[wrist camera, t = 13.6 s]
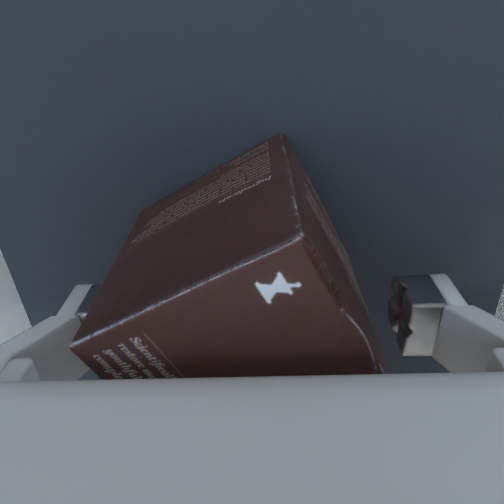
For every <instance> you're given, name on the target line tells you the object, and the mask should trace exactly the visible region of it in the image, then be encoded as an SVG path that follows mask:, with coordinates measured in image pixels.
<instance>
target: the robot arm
mask: <svg viewBox="0 0 504 504" xmlns="http://www.w3.org/2000/svg"><path fill="white" fill-rule="evenodd" d="M101 285H102V284H79V285H76V286H75V287H74V289H73V291H72V292H71V294H70V295H69V297H68V298H67V300H66V301H65V303H64V304H63V306H62V307H61V309H60V310H59V312H58V313H57V315H56V316H50V317H49V318H47V319H45V320H43V321H42V322H40V323H38V324H36V325H35V326H33V327H31V328H29V329H28V330H26V331H24V332H23V333H21V334H19V335H17V336H16V337H14V338H12V339H10V340H9V341H7V342H5V343H3V344H2V345H0V504H504V320H502V319H500V318H498V317H496V316H494V315H492V314H490V313H488V312H486V311H484V310H482V309H480V308H478V307H476V306H474V305H468V304H467V303H466V301H465V300H464V298H463V297H462V296H461V294H460V293H459V291H458V290H457V288H456V287H455V286H454V284H453V283H452V281H451V280H450V278H449V277H448V276H447V275H446V274H427V275H412V276H394V277H393V279H392V284H391V289H392V291H393V294H394V295H393V296H392V297H391V298H390V299H389V305H388V318H389V322H390V325H391V328H392V330H393V331H395V332H396V333H397V339H396V341H397V343H398V345H399V348H400V350H401V353H402V355H403V356H432V357H433V358H434V359H435V360H436V361H437V362H439V363H440V364H441V365H442V366H443V367H445V368H446V369H447V370H448V371H449V372H451V373H406V374H357V375H309V376H260V377H211V378H162V379H112V380H78V379H79V378H80V377H81V376H82V375H83V374H84V373H86V372H87V371H88V370H89V369H90V368H89V367H88V366H87V365H86V364H85V363H84V362H83V361H82V360H81V359H80V358H79V357H78V356H76V355H75V354H74V353H73V352H72V351H71V350H70V348H69V345H70V343H71V341H72V340H73V338H74V337H75V334H76V332H77V331H78V329H79V327H80V326H81V324H82V322H83V320H84V319H85V317H86V315H87V313H88V309H89V307H90V305H91V303H92V302H93V300H94V298H95V296H96V295H97V293H98V291H99V289H100V287H101Z"/></svg>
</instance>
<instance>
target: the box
mask: <svg viewBox="0 0 504 504" xmlns="http://www.w3.org/2000/svg"><path fill="white" fill-rule="evenodd" d="M69 348H70V350H71V351H72V352H73V353H74V354H75V355H76V356H78V357H79V358H80V359H81V360H82V361H83V362H84V363H85V364H86V365H87V366H88V367H89V368H90V369H91V370H92V371H93V372H94V373H96V374H97V375H98V377H99V378H100V379H101V380H112V379H162V378H211V377H260V376H309V375H357V374H392V373H391V371H390V368H389V366H388V363H387V361H386V358H385V355H384V352H383V349H382V346H381V344H380V341H379V339H378V336H377V333H376V330H375V328H374V325H373V322H372V319H371V317H370V314H369V312H368V309H367V307H366V304H365V301H364V298H363V296H362V294H361V291H360V288H359V286H358V283H357V280H356V277H355V274H354V271H353V268H352V264H351V260H350V257H349V256H348V254H347V252H346V250H345V248H344V246H343V244H342V242H341V240H340V239H339V236H338V234H337V232H336V230H335V228H334V226H333V224H332V222H331V220H330V218H329V216H328V214H327V212H326V210H325V208H324V206H323V205H322V203H321V201H320V199H319V197H318V195H317V193H316V191H315V189H314V187H313V185H312V184H311V182H310V180H309V178H308V176H307V174H306V173H305V171H304V169H303V167H302V165H301V163H300V161H299V159H298V158H297V156H296V154H295V152H294V150H293V148H292V146H291V144H290V142H289V140H288V139H287V137H286V136H285V135H284V134H278V135H275V136H274V137H272V138H270V139H269V140H267V141H265V142H263V143H261V144H259V145H258V146H256V147H254V148H253V149H251V150H248V151H247V152H245V153H244V154H242V155H240V156H238V157H236V158H234V159H232V160H231V161H229V162H227V163H226V164H224V165H222V166H220V167H218V168H216V169H215V170H213V171H211V172H209V173H207V174H206V175H204V176H202V177H200V178H198V179H196V180H194V181H193V182H191V183H189V184H188V185H186V186H184V187H182V188H180V189H179V190H177V191H175V192H173V193H171V194H170V195H168V196H166V197H164V198H163V199H161V200H159V201H157V202H155V203H153V204H152V205H150V206H148V207H146V208H144V209H143V210H141V212H140V214H139V216H138V218H137V220H136V222H135V223H134V226H133V228H132V229H131V231H130V233H129V235H128V237H127V238H126V240H125V242H124V244H123V245H122V247H121V250H120V252H119V253H118V255H117V257H116V259H115V261H114V263H113V265H112V267H111V269H110V271H109V273H108V275H107V276H106V278H105V280H104V282H103V283H102V285H101V287H100V289H99V291H98V293H97V295H96V296H95V298H94V300H93V302H92V303H91V305H90V307H89V309H88V313H87V315H86V317H85V319H84V320H83V322H82V324H81V326H80V327H79V329H78V331H77V332H76V334H75V337H74V338H73V340H72V341H71V343H70V345H69Z"/></svg>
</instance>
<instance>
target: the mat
mask: <svg viewBox="0 0 504 504" xmlns="http://www.w3.org/2000/svg"><path fill="white" fill-rule="evenodd" d="M278 134H284V135H285V136H286V137H287V139H288V140H289V142H290V144H291V146H292V148H293V150H294V152H295V154H296V156H297V158H298V159H299V161H300V163H301V165H302V167H303V169H304V171H305V173H306V174H307V176H308V178H309V180H310V182H311V184H312V185H313V187H314V189H315V191H316V193H317V195H318V197H319V199H320V201H321V203H322V205H323V206H324V208H325V210H326V212H327V214H328V216H329V218H330V220H331V222H332V224H333V226H334V228H335V230H336V232H337V234H338V236H339V239H340V240H341V242H342V244H343V246H344V248H345V250H346V252H347V254H348V256H349V257H350V260H351V264H352V268H353V271H354V274H355V277H356V280H357V283H358V286H359V288H360V291H361V294H362V296H363V298H364V301H365V304H366V307H367V309H368V312H369V314H370V317H371V319H372V322H373V325H374V328H375V330H376V333H377V336H378V339H379V341H380V344H381V346H382V349H383V352H384V355H385V358H386V361H387V363H388V366H389V368H390V371H391V373H392V374H406V373H451V372H449V371H448V370H447V369H446V368H445V367H443V366H442V365H441V364H440V363H439V362H437V361H436V360H435V359H434V358H433V357H432V356H403V355H402V353H401V350H400V348H399V345H398V343H397V341H396V339H397V333H396V332H395V331H393V330H392V328H391V325H390V322H389V318H388V305H389V299H390V298H391V297H392V296H393V295H394V294H393V291H392V289H391V284H392V279H393V277H394V276H412V275H427V274H446V275H447V276H448V277H449V278H450V280H451V281H452V283H453V284H454V286H455V287H456V288H457V290H458V291H459V293H460V294H461V296H462V297H463V298H464V300H465V301H466V303H467V304H468V305H474V306H476V307H478V308H480V309H482V310H484V311H486V312H488V313H490V314H492V315H494V314H495V311H496V308H497V304H498V301H499V298H500V295H501V292H502V288H503V285H504V0H0V248H1V251H2V253H3V256H4V258H5V261H6V263H7V266H8V268H9V271H10V273H11V276H12V278H13V281H14V283H15V285H16V288H17V290H18V293H19V295H20V298H21V300H22V303H23V305H24V308H25V310H26V313H27V315H28V318H29V320H30V323H31V325H32V327H33V326H35V325H36V324H38V323H40V322H42V321H43V320H45V319H47V318H49V317H50V316H56V315H57V313H58V312H59V310H60V309H61V307H62V306H63V304H64V303H65V301H66V300H67V298H68V297H69V295H70V294H71V292H72V291H73V289H74V287H75V286H76V285H79V284H102V283H103V282H104V280H105V278H106V276H107V275H108V273H109V271H110V269H111V267H112V265H113V263H114V261H115V259H116V257H117V255H118V253H119V252H120V250H121V247H122V245H123V244H124V242H125V240H126V238H127V237H128V235H129V233H130V231H131V229H132V228H133V226H134V223H135V222H136V220H137V218H138V216H139V214H140V212H141V210H143V209H144V208H146V207H148V206H150V205H152V204H153V203H155V202H157V201H159V200H161V199H163V198H164V197H166V196H168V195H170V194H171V193H173V192H175V191H177V190H179V189H180V188H182V187H184V186H186V185H188V184H189V183H191V182H193V181H194V180H196V179H198V178H200V177H202V176H204V175H206V174H207V173H209V172H211V171H213V170H215V169H216V168H218V167H220V166H222V165H224V164H226V163H227V162H229V161H231V160H232V159H234V158H236V157H238V156H240V155H242V154H244V153H245V152H247V151H248V150H251V149H253V148H254V147H256V146H258V145H259V144H261V143H263V142H265V141H267V140H269V139H270V138H272V137H274V136H275V135H278ZM78 380H101V379H100V378H99V377H98V375H97V374H96V373H94V372H93V371H92V370H91V369H89V370H88V371H87V372H86V373H84V374H83V375H82V376H81V377H80V378H79V379H78Z"/></svg>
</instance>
